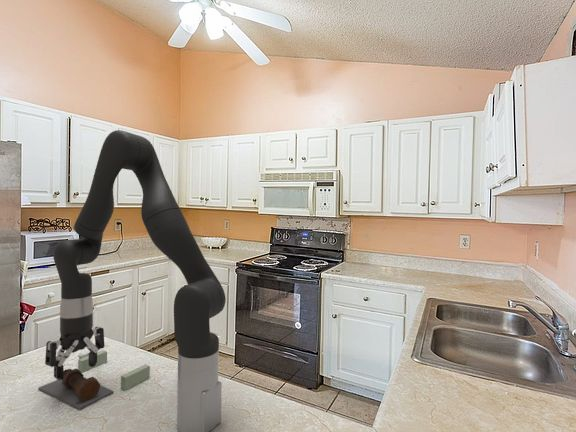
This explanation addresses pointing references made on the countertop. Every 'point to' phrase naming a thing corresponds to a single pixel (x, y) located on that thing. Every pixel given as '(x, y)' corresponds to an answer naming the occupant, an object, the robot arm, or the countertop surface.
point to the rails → (126, 379)
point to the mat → (72, 394)
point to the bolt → (81, 384)
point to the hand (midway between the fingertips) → (76, 372)
